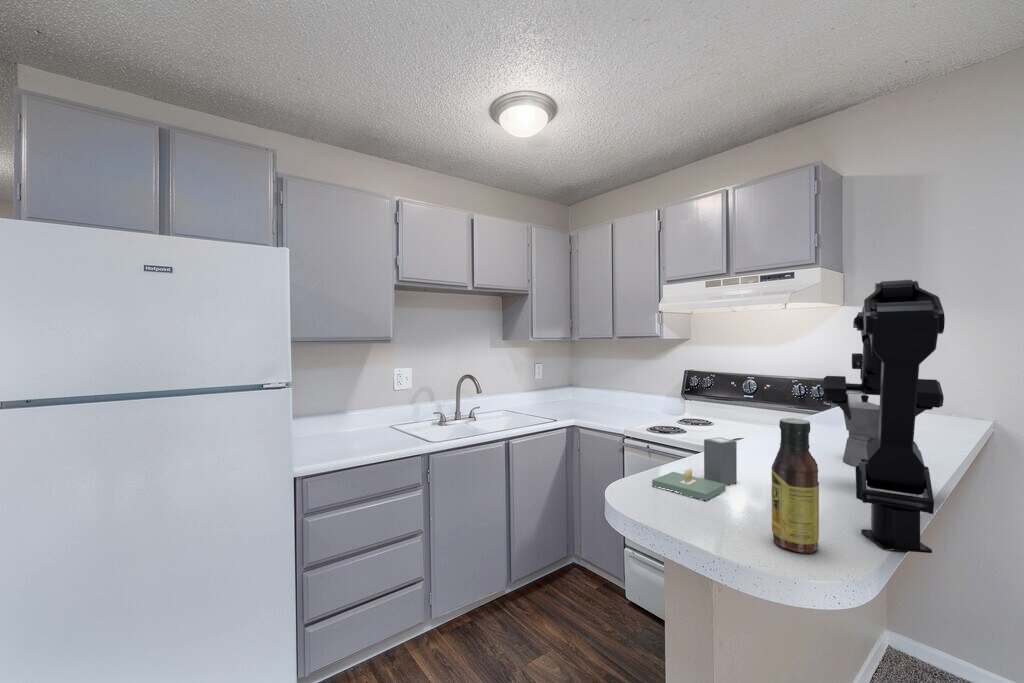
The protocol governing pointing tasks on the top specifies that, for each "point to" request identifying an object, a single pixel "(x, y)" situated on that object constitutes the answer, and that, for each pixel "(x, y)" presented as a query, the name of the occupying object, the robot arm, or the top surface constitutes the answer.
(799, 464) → the sauce bottle
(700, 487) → the header board
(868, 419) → the coffeepot
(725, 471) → the plug block
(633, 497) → the top surface
